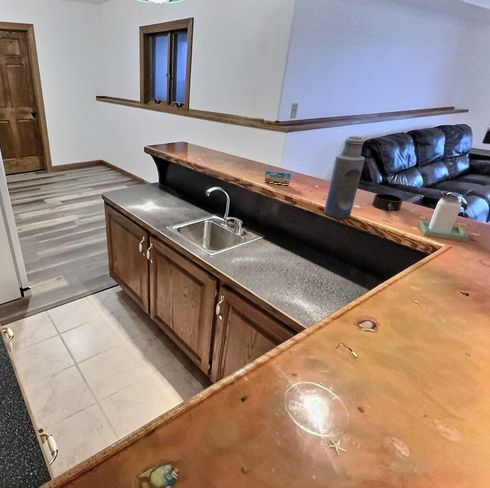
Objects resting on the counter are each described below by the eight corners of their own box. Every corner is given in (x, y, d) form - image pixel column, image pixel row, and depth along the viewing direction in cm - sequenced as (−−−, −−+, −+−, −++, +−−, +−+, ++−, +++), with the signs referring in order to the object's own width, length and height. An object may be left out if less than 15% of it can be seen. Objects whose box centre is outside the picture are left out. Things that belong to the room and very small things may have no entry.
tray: (458, 231, 125) (460, 226, 124) (466, 242, 117) (468, 237, 116) (418, 225, 130) (419, 220, 129) (423, 235, 121) (425, 230, 121)
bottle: (330, 218, 134) (349, 138, 121) (319, 209, 143) (336, 134, 130) (354, 218, 135) (376, 139, 121) (342, 209, 144) (361, 134, 130)
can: (427, 226, 128) (439, 195, 122) (449, 230, 125) (462, 198, 119) (428, 232, 123) (440, 200, 117) (450, 236, 120) (464, 203, 114)
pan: (397, 204, 150) (400, 195, 148) (404, 219, 135) (407, 209, 133) (371, 201, 154) (374, 192, 152) (375, 215, 138) (377, 205, 137)
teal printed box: (264, 182, 177) (265, 170, 175) (265, 182, 179) (266, 170, 176) (288, 186, 172) (290, 174, 169) (289, 185, 173) (291, 173, 171)
